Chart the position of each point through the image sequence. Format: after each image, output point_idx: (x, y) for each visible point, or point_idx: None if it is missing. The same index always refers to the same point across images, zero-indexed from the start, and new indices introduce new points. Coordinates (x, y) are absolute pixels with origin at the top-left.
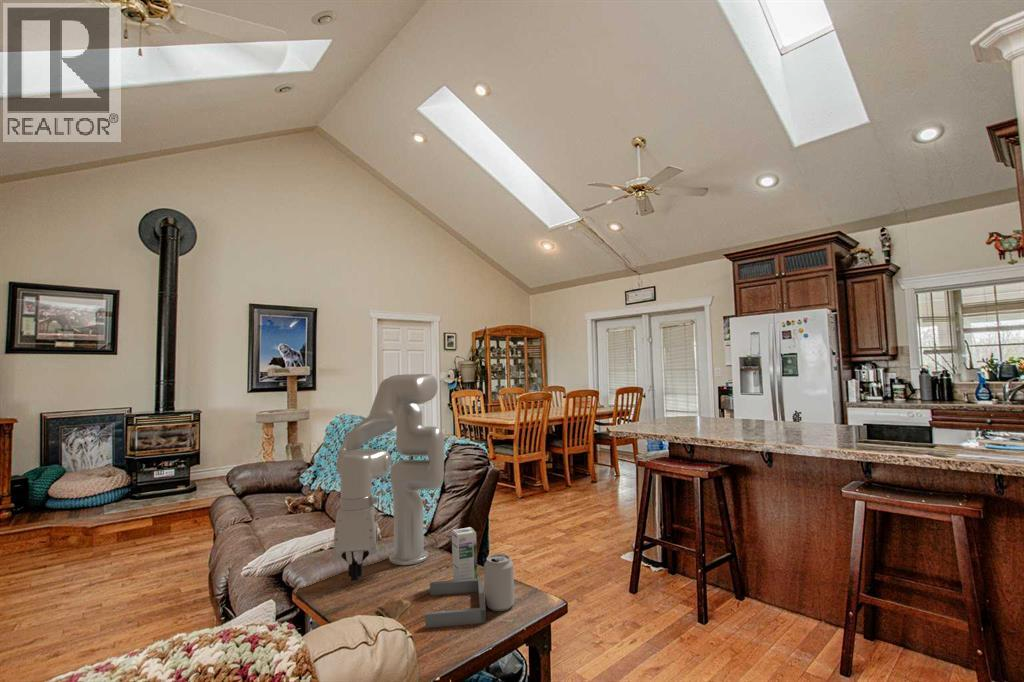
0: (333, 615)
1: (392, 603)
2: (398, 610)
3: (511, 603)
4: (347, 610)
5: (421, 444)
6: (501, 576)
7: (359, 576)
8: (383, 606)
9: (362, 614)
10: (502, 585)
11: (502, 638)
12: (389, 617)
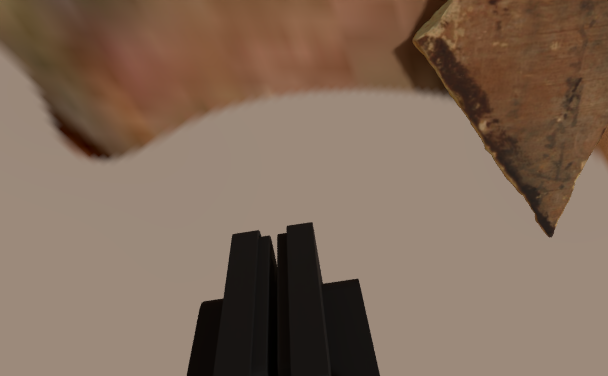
0: (111, 99)
1: (539, 9)
2: (585, 109)
3: None
4: (176, 25)
5: None
6: None
7: (317, 253)
8: (468, 46)
9: (317, 88)
10: None
11: None
12: (527, 189)
